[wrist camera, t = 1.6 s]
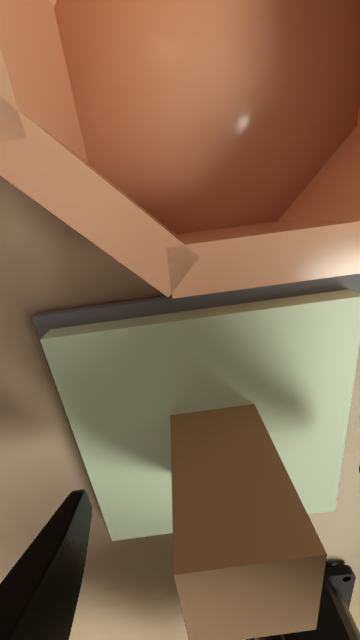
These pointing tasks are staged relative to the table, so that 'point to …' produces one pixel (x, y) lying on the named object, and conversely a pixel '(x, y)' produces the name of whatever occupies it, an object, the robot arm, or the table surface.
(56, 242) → the table surface
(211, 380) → the cover board
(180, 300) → the mat
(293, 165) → the bowl
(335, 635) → the robot arm
